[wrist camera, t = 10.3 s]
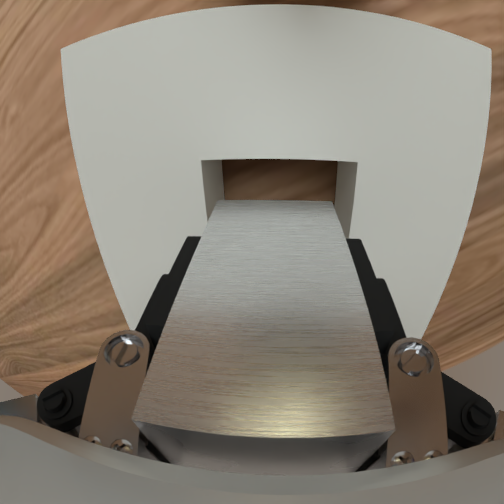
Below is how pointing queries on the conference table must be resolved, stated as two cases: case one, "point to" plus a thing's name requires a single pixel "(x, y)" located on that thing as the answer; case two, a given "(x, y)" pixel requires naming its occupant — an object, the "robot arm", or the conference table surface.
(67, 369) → the conference table surface
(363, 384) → the square bar
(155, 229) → the socket block
